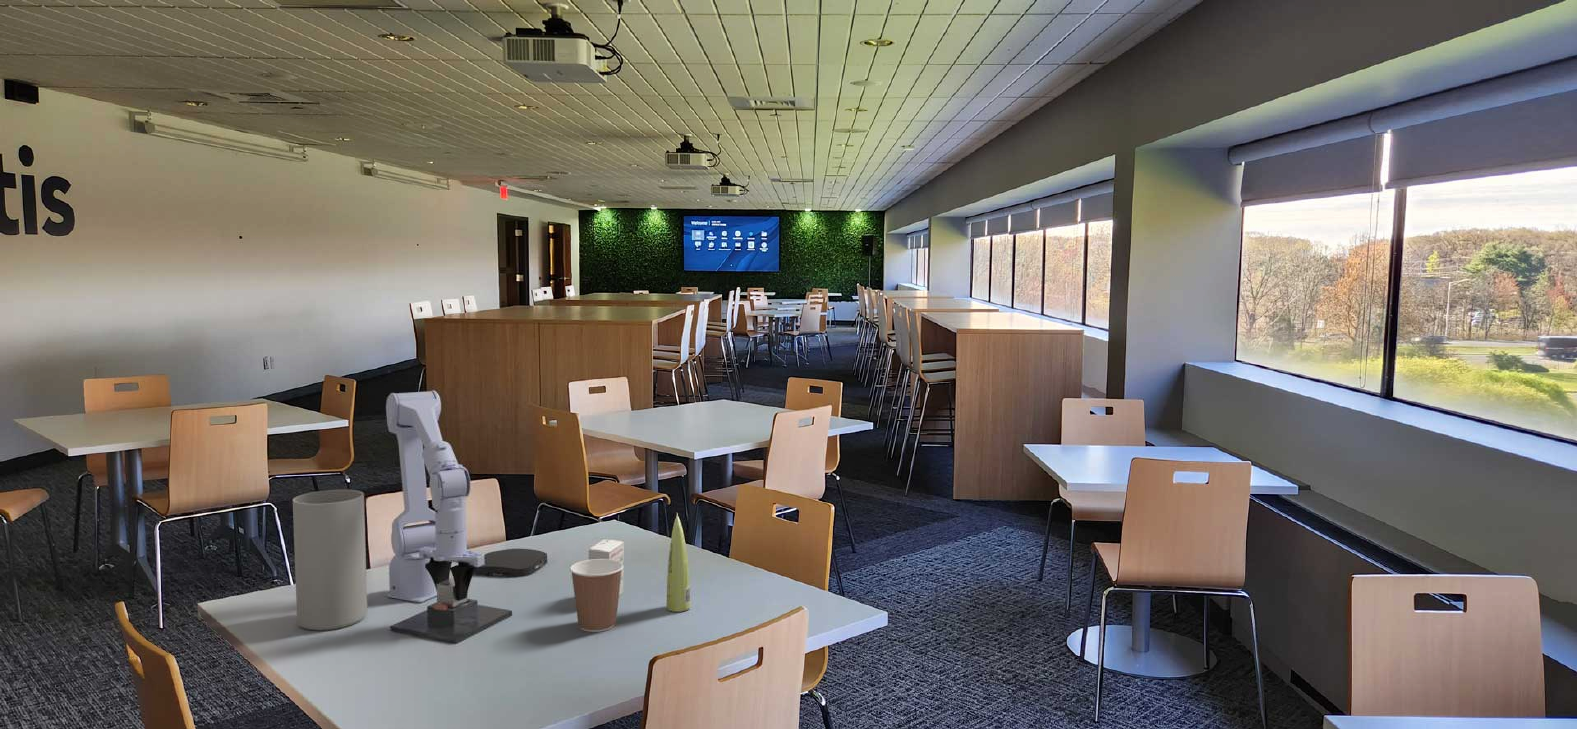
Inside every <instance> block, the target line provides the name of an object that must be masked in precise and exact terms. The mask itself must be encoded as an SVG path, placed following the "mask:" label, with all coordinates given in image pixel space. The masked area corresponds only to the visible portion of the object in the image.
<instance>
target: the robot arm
mask: <svg viewBox="0 0 1577 729" xmlns="http://www.w3.org/2000/svg"><path fill="white" fill-rule="evenodd" d="M385 411H386V422H387V428H388V432H390V433H391V434H392V433H393V435H394V434H395V435H396V438H397V443H398V451H399V453H398V454H399V464H400V474H401V475H400V476H401V485H402V495H403V507H404V508H403V509H404V510H403V511H402V512H400V513H399V515H397V517H395V518H394V519H393V521H392V523H391V534H390V536H391V537H390V539H391V541H390V542H391V543H390V544H391V548H392V551H393V554H394V556H393V557H392V558H391V560H390V562H389V567H388V570H389V571H388V575H389V576H388V580H389V593H387V594H386V597H387V598H392V599H397V600H403V601H410V602H414V603H423V602H425V601H428V600H430V599H432V598H435V597H437V584H438V583H440V582H443V581H445V580H448V579H450V574H452V578H454V582H455V594H456V599H457V600H458V601H460V600H463V599H465V598H466V597H467V595H468V592H469V587H470V585H471V581H472V578H473V576H474V574H475V573H474V572H475V570H476V569H477V567H479V566H482V565H484V555H485V554H480V553H477V552H475V551H472V550H469V549H467V539H468V538H467V502H466V501H467V500H466V498H467V497H469V495H470V493H471V478H470V474H469V471H468V469H467V468H466V467H464V466H463V464H459V463H458V459H457V458H456V455H455V453H454V450H453V447H452V445H451V444H450V443H449V442H447V441H443V437H442V434H441V429H440V425H439V422H438V421H439V419H440V415H441V411H442V401H441V397H440V395H439V393H438V392H437V391H436V390H430V391H417V392H416V391H415V392H399V393H396V392H391V393H390V394H389V395H388V396H387V398H386V404H385ZM425 468H426V470H427V472H428V475H429V478H430V479H429V492H430V495H431V504H432V508H433V509H434V510H433V509H431V508H429V500H428V490H427V478H426V470H425ZM422 522H424V523H422ZM425 522H426V523H425ZM414 523H415V524H414ZM416 523H417V524H416ZM418 523H419V524H418ZM408 524H411V525H408ZM412 524H413V525H412ZM453 563H455V564H456V565H453V566H452V564H453Z"/></svg>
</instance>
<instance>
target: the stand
mask: <svg viewBox="0 0 1577 729" xmlns="http://www.w3.org/2000/svg"><path fill="white" fill-rule="evenodd" d="M511 616H513V610H510V609H505V608H500V607H499V608H498V607H494V606H493V607H492V606H487V605H482V604H478V600H477V599H471V598H468V603H466V604H464V605H462V606H460V607H457V608H455V609H449V608H447V606H446V605H441V604H437V601H436V602H434V603H432V604H430V605H427V607H426V610H423V611H422V612H419V613H417V614H414V615H413V616H410V617H409V618H408V617H407V618H406V619H402V620H401V621H398V622H396V623H394V624H392V625H390V632H393V633H397V634H403V635H410V636H413V637H419V638H425V639H430V640H435V641H440V642H445V643H451V644H459V643H461V642H463V641H464V640H467V639H469V638H470V637H473V636H475V635H477V634H478V633H481V632H482V631H484V630H487V629H489V628H490V627H492V626H494V625H497V624H499V623H501V622H502V621H504V620H506V619H507V618H510V617H511Z"/></svg>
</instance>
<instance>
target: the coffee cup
mask: <svg viewBox="0 0 1577 729" xmlns="http://www.w3.org/2000/svg"><path fill="white" fill-rule="evenodd" d="M622 569H623V570H624V563H623V564H622V563H621V562H619V561H616V560H610V559H592V560H589V559H586V560H582V561H577V562H576V563H573V564H572V565H571V566H570V567H569V570H570V572H571V580H572V585H573V594H574V601H575V608H576V616H577V622H578V625H579V629H581V630H582V631H584V632H588V633H600V632H605V631H609V630H610V629H612V628H614V627H615V625H616V620H617V617H618V616H617V615H618V608H619V600H620V599H619V598H620V596H619V590H620V582H621V573H622Z"/></svg>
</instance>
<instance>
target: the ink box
mask: <svg viewBox="0 0 1577 729" xmlns="http://www.w3.org/2000/svg"><path fill="white" fill-rule="evenodd" d="M624 548H625V542H624V541H623V540H622V541H621V540H616V539H602V540H601V541H599V542H597V543H596V544H594V545H593V546H591V547H590V548H589V550H588V560H592V559H610V560H616V561H619V562H621V563H622V564H623V565H624V559H625V558H624V556H625V555H624V551H625V550H624ZM623 593H624V568H623V569H622V573H621V582H620V590H619V597H620V596H621V595H622V594H623Z"/></svg>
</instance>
